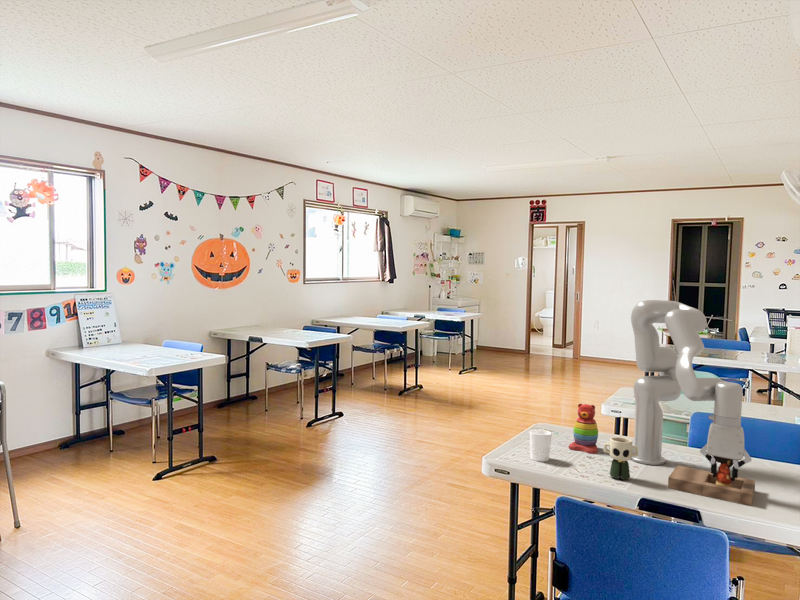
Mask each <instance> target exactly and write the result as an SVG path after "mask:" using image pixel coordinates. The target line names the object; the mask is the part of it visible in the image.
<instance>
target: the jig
mask: <svg viewBox="0 0 800 600" xmlns="http://www.w3.org/2000/svg"><path fill="white" fill-rule="evenodd" d="M730 477H731V478H732V475H730ZM716 481H717V477H713V474H712V473H711V471H708V470H702V469H697V468H693V467H687V466H681V465H676V466H675V468H674V469H673V471H672V472H671V473H670V475H669V476H668V482H667V489H671V490H675V491H681V492H684V493H690V494H694V495H698V496H703V497H707V498H708V497H709V498H712V499H716V500H722V501H726V502H731V503H734V504H735V503H736V504H740V505H745V506H750V507H752V505H753V501H754V497H755V491H756V480H755V479H750V478H745V477H740V476H739V477H737V478H735V481H732V482H731V483H730V484H731V485H732V487H733V488H732V487H727V486H722V485H717V484H716Z"/></svg>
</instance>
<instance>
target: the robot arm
mask: <svg viewBox="0 0 800 600" xmlns="http://www.w3.org/2000/svg"><path fill="white" fill-rule="evenodd" d="M630 315H631V316H630V320H631V321H630V323H631V326H632V327H631V328H632V331H633V336H634V350H635V361H636V367H637V368H638V370H639V371H641V372H644V373H659V375H645V376H641V377H639V378H637V379H636V380H635V382H634V384H633V395H634V399H635V400H634V402H635V410H634V411H635V412H634V413H635V414H634V415H635V417H634V418H635V419H634V434H633V435H634V436H633V437H634V438H633V439H634V440H633V444H632V446H637V447H638V456H632V458H631V459H630V460H631V461H633V462H636V463H640V464H644V465H650V466H660V465H664V464H666V463H667V462H666V460H667V459H666V458H665V457H663V456H662V446H663V425H664V424H663V423H664V414H663V413H664V412H663V410H662V407H661V405H660V402H672V401H677V400H678V399H679V398H680V396H681V393H683V395H684V396H685V397H686V398H687V399H688V400H690V401H692V402H706V401H707V402H711V401H713V402H714V407H713V414H711V415H710V414H708V420H711V421H712V422H711V423H710V425H709V428H708V433H707V443H706V444H704V446H703V447H702V448H700V450H699V453H701V455H702V456H703V457H705V458H706V460H708V462H709V463H710V472H711V473H712V474H713V477H716V473H717V472H718V462H716V461H715V458H714V457H713V456H716V457H722V458H727V459H733V463H734V464H733V465H732V467H731V468H732V469H731V476H732V481H735V478H737V477H738V476H739V469H740V468H741V467H742V466H744V465H746V464H748V463H751V462H752V460H753V459H752V457H751V456H750V454H749V453H748V452H747V449H745V432H744V427H742V426H741V425H742V424H741V423H742V411H743V410H742V407H743V387H742V384H739V383H736V382H731V381H726V380H724V379H720V378H718V377H697V376H696V373H695V371H694V368H693V359H694V357H696V356H698V355H700V354H702V352H703V351H704V349H705V345H704V342H703V340H702V338H701V336H700V334H699V333H702V332H704V331H705V329H706V327H707V323H708V322H707V321H708V320H707V317H706V316H705V314H704V312H702V311H701V310H699V309H697V308H695V307H692V306H689V305H687V304H684V303H682V302H679V301H675V300H660V299H659V300H657V299H650V300H649V299H648V300H642V301H640V302H638V303H637V304H636V305H635V306H634V307H633V309H632V310H631V314H630ZM653 324H664V325H665V327H666V329H667V331H668V333H669V336H670V338H671V340H672V343H673V345H674V347H675V349H676V351H675V349H673V348H671V347H669V346H661V345H660V336H659V333H658V331H657V329H656V327H655V326H654V325H653ZM632 453H635V449H632Z"/></svg>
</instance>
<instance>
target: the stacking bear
mask: <svg viewBox="0 0 800 600" xmlns="http://www.w3.org/2000/svg"><path fill="white" fill-rule="evenodd" d="M577 415H578V417H577V418H576V421H575V422H574V426H573V433H572V434H573V439H574V441H573V442H571V443H569V445H568V449H569V450H572V451H578V452H583V453H584V452H585V453H587V454H590V455H591V454H593V455H595V454H597V453H598V451H599V449H598V448H599V447H598V446H597V442H598V439H599V438H598V437H599V429H598V424H597V421H596V420H595V416H596V406H595V405H594V404H585V403H584V404H583V403H578V405H577Z"/></svg>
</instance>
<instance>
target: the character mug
mask: <svg viewBox="0 0 800 600" xmlns="http://www.w3.org/2000/svg"><path fill="white" fill-rule="evenodd" d="M608 447H609V449H608ZM632 449H635V453H632ZM603 453H606V454H609V457H610V458H611V459H612V461H611V465H610V471H609V475H610V477H612V478H614V479H619V478H621V480H628V479H630V465H629V464H630V463H629V461H630V460H631V458H632V456H638V447H637V446H633V440H632V439H630V438H626V437H622V436H612V437H610V438H609V443H608V442H604V443H603Z"/></svg>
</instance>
